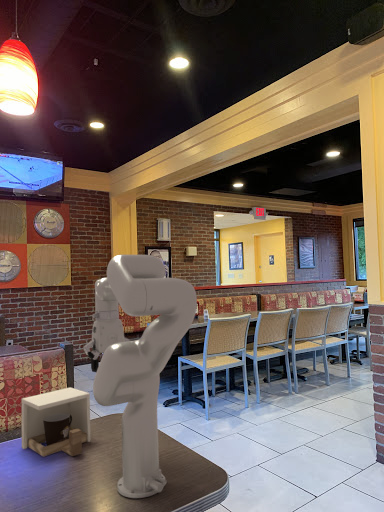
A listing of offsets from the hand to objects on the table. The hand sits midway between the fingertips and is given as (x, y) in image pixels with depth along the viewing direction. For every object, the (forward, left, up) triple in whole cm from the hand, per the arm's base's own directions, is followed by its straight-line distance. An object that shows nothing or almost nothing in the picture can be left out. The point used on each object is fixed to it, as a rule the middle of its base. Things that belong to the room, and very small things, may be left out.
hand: (108, 369), depth 121 cm
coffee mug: (+18, +8, -26) cm, 33 cm away
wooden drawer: (+16, +8, -26) cm, 32 cm away
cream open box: (+21, +8, -26) cm, 35 cm away
